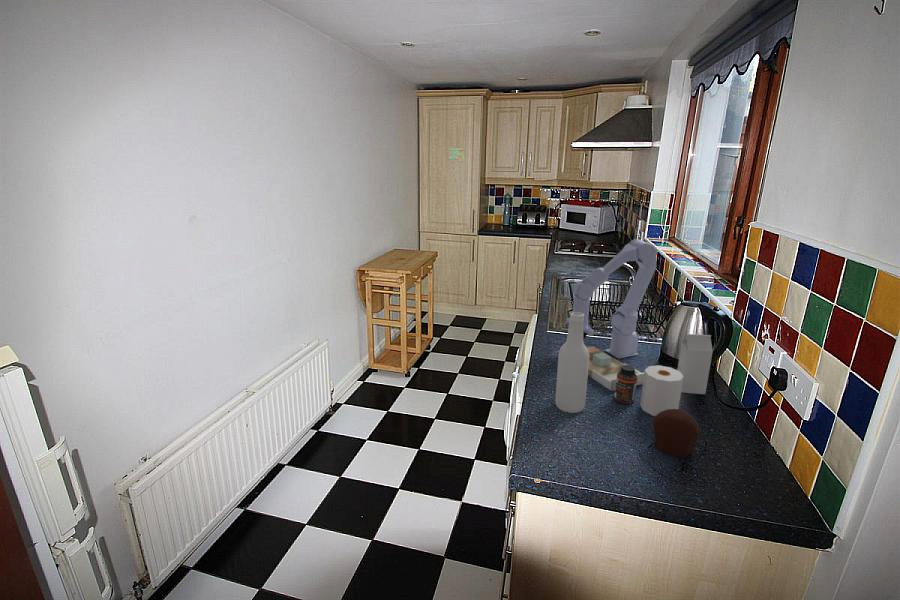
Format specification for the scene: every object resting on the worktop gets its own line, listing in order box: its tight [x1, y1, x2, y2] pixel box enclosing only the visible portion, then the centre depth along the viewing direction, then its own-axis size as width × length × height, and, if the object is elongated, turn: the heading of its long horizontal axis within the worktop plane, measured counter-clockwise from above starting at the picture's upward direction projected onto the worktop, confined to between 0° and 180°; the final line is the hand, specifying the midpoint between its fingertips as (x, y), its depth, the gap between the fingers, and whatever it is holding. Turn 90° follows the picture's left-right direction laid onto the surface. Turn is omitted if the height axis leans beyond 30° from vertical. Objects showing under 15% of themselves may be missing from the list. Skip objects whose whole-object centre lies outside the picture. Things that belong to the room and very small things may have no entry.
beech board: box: [588, 350, 625, 379], centre depth 163 cm, size 14×14×2 cm
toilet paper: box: [639, 364, 684, 417], centre depth 134 cm, size 10×10×12 cm
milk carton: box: [676, 333, 713, 395], centre depth 144 cm, size 7×7×19 cm
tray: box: [591, 363, 644, 392], centre depth 152 cm, size 14×10×4 cm
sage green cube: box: [592, 352, 613, 367], centre depth 160 cm, size 4×4×3 cm
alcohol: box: [554, 311, 589, 414], centre depth 133 cm, size 9×9×30 cm
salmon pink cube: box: [586, 346, 602, 360], centre depth 165 cm, size 4×4×3 cm
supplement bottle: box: [613, 364, 637, 405], centre depth 139 cm, size 6×6×11 cm
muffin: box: [651, 408, 702, 458], centre depth 116 cm, size 12×11×10 cm
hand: (577, 346), depth 173 cm, fingers closed
